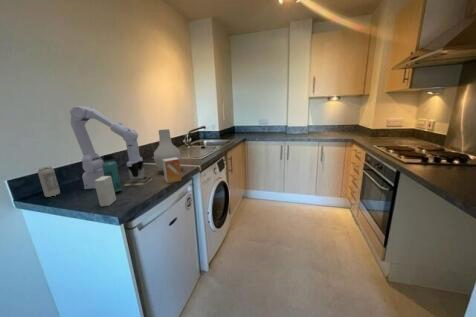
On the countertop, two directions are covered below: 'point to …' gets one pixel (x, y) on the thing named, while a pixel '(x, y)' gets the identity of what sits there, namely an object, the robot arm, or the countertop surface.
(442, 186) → the countertop surface
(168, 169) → the small box
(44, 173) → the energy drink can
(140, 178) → the lock block
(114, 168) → the beverage bottle
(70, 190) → the countertop surface
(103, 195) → the skincare box
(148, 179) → the channel board
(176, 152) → the vase
